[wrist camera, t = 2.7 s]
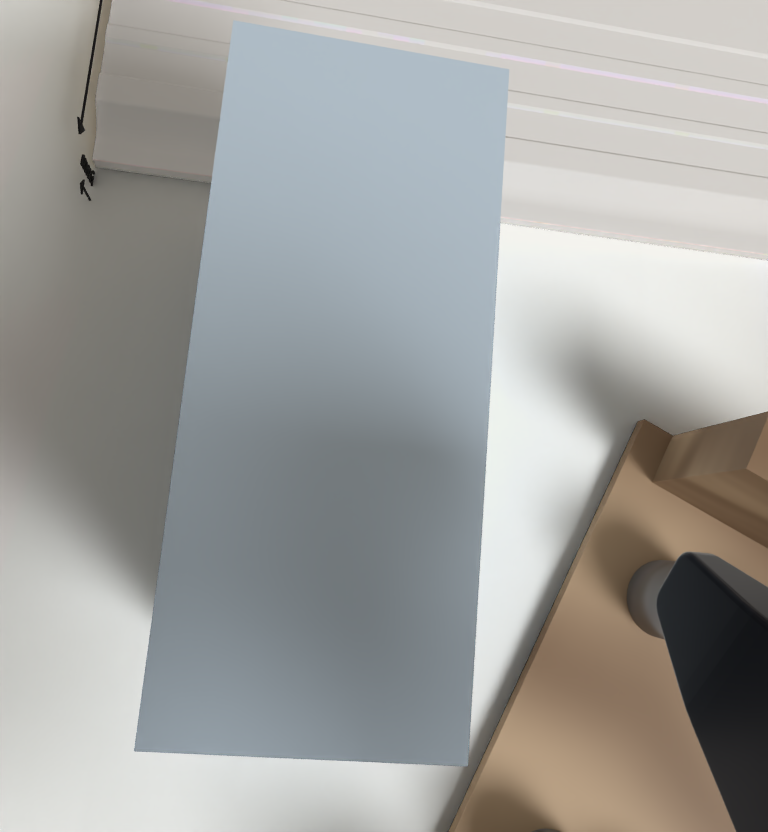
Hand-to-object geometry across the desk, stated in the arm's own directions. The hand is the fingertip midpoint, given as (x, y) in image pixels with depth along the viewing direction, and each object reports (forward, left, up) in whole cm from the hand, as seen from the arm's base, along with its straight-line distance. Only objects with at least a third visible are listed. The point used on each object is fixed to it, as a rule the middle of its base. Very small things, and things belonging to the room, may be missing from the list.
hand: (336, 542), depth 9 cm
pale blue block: (+2, +1, -11) cm, 12 cm away
